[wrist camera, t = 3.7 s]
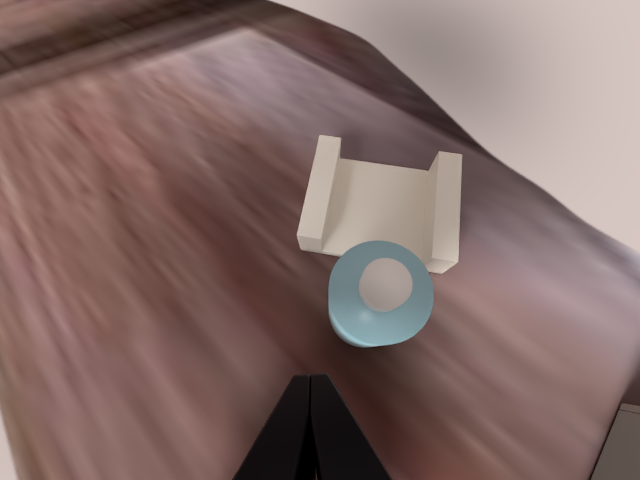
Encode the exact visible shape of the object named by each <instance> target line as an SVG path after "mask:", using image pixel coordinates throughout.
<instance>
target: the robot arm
mask: <svg viewBox="0 0 640 480" xmlns="http://www.w3.org/2000/svg"><path fill="white" fill-rule="evenodd" d="M316 473H317V480H392V478H391V477H390V475H389V473H388V472H387V470H386V468H385V467H384V465H383V463H382V462H381V460H380V458H379V457H378V455H377V454H376V452H375V450H374V449H373V447H372V445H371V444H370V442H369V440H368V439H367V437H366V435H365V434H364V432H363V430H362V429H361V427H360V426H359V424H358V422H357V421H356V419H355V417H354V416H353V414H352V412H351V411H350V409H349V407H348V406H347V404H346V402H345V401H344V399H343V398H342V396H341V394H340V393H339V391H338V389H337V388H336V386H335V384H334V383H333V381H332V379H331V378H330V376H329V375H328V374H327V373H314V374H312V375H311V376H310V375H309V374H302V375H295V376H293V377H292V379H291V381H290V382H289V384H288V386H287V388H286V389H285V391H284V393H283V394H282V396H281V398H280V399H279V401H278V403H277V404H276V406H275V408H274V410H273V411H272V413H271V415H270V416H269V418H268V420H267V421H266V423H265V425H264V427H263V428H262V430H261V432H260V433H259V435H258V437H257V438H256V440H255V442H254V444H253V445H252V447H251V449H250V450H249V452H248V454H247V455H246V457H245V459H244V461H243V462H242V464H241V466H240V467H239V469H238V471H237V472H236V474H235V476H234V478H233V479H232V480H316Z"/></svg>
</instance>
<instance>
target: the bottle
mask: <svg viewBox="0 0 640 480" xmlns="http://www.w3.org/2000/svg"><path fill="white" fill-rule="evenodd" d="M433 303H434V289H433V284H432V280H431V277H430V275H429V273H428V271H427V269H426V267H425V266H424V264H423V263H422V262H421V260H420V259H419V258H418V257H417V256H416V255H415V254H414V253H412V252H411V251H410V250H408V249H407V248H405V247H403V246H401V245H398V244H396V243H392V242H389V241H379V240H375V241H368V242H363V243H361V244H358V245H356V246H354V247H352V248H350V249H349V250H348V251H346V252H345V253H344V254H343V255H342V256H341V257H340V258H339V259H338V261H337V262H336V264H335V266H334V268H333V270H332V272H331V275H330V279H329V290H328V307H329V320H330V323H331V326H332V328H333V330H334V332H335V333H336V334H337V335H338V337H339V338H340V339H342V340H343V341H344V342H346V343H347V344H350V345H352V346H355V347H360V348H367V347H375V346H383V345H391V344H396V343H400V342H403V341H405V340H407V339H409V338H411V337H413V336H414V335H415V334H416V333H418V332H419V331H420V330H421V329H422V328H423V327H424V325H425V324H426V322H427V321H428V319H429V317H430V314H431V311H432V308H433Z"/></svg>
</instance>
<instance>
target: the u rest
mask: <svg viewBox="0 0 640 480" xmlns="http://www.w3.org/2000/svg"><path fill="white" fill-rule="evenodd" d="M340 151H341V138H339V137H332V136H325V135H319V140H318V144H317V149H316V153H315V157H314V162H313V166H312V170H311V175H310V179H309V184H308V188H307V192H306V197H305V201H304V205H303V210H302V214H301V219H300V223H299V227H298V232H297V238H298V242H299V246H300V249H301V250H304V251H310V252H316V253H322V254H328V255H334V256H339V257H341V256H342V255H343V254H344V253H345V252H346V251H348V250H349V249H350V248H352V247H354V246H356V245H358V244H361V243H363V242H368V241H375V240H379V241H389V242H392V243H396V244H398V245H401V246H403V247H405V248H407V249H408V250H410V251H411V252H412V253H414V254H415V255H416V256H417V257H418V258H419V259H420V260H421V262H422V263H423V264H424V266H425V267H426V269H427V271H428V272H433V273H439V274H442V273H444V272H445V271H446V270H448V269H449V268H451V267H452V266H454V265H455V264H457V263H458V256H459V228H460V201H461V174H462V154H456V153H449V152H442V151H439V152H438V154H437V156H436V158H435V159H434V161H433V163H432V165H431V167H430V169H429V170H428V171H426V170H419V169H412V168H405V167H398V166H391V165H384V164H377V163H370V162H363V161H356V160H349V159H342V158H340Z"/></svg>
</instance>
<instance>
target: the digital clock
mask: <svg viewBox="0 0 640 480" xmlns="http://www.w3.org/2000/svg"><path fill="white" fill-rule="evenodd" d="M591 480H640V406H637V405H631V404H625V403H622V404H621V406H620V409H619V411H618V414H617V416H616V419H615V421H614V424H613V426H612V428H611V431H610V433H609V436H608V438H607V441H606V443H605V446H604V448H603V451H602V453H601V455H600V458H599V460H598V463H597V465H596V468H595V470H594V473H593V475H592V478H591Z"/></svg>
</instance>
